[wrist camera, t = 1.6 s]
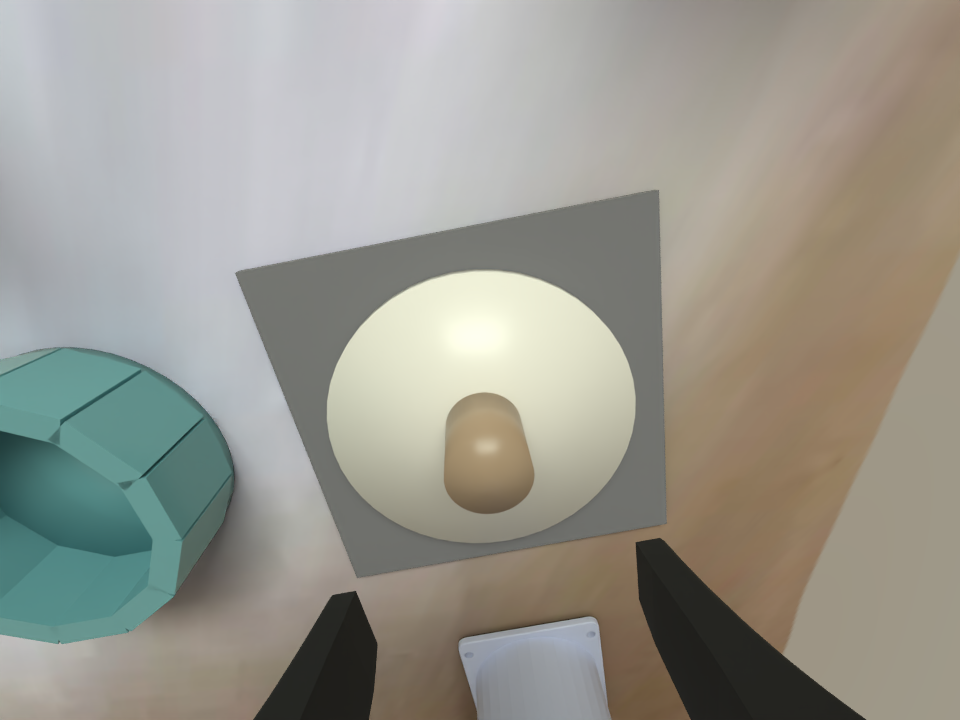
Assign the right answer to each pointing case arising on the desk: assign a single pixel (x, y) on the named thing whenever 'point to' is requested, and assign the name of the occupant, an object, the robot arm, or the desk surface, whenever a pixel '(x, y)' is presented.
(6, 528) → the bowl
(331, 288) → the mat
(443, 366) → the lid
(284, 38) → the desk surface
